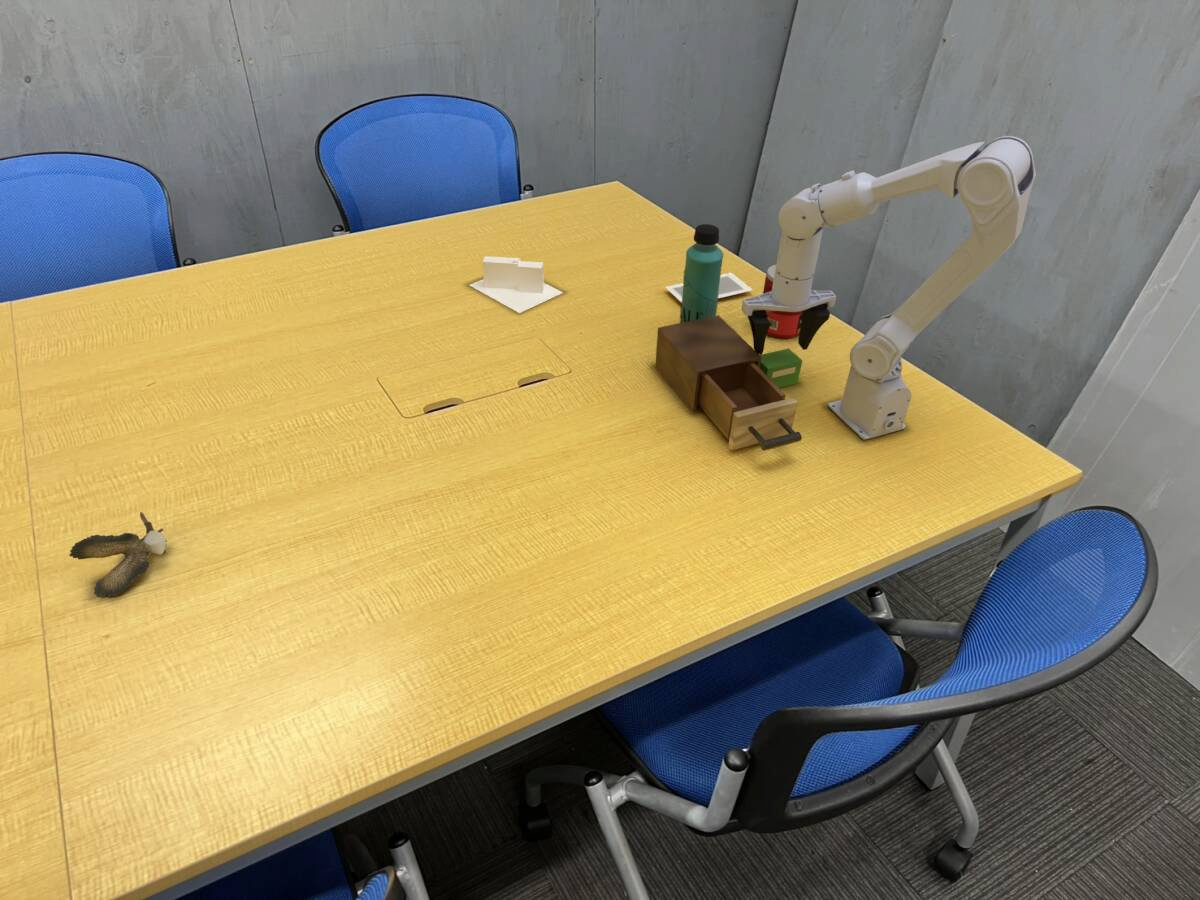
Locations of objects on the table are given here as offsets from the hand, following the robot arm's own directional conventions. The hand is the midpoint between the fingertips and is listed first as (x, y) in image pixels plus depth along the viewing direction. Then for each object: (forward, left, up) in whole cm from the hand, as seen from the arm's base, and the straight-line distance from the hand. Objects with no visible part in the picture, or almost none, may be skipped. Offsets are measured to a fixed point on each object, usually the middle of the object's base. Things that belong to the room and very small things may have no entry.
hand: (780, 348), depth 128 cm
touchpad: (+30, -4, -6) cm, 31 cm away
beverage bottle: (+18, +5, -6) cm, 20 cm away
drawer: (-10, +11, -6) cm, 16 cm away
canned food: (+14, -10, -6) cm, 18 cm away
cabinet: (+4, +11, -6) cm, 13 cm away
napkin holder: (+45, +30, -6) cm, 54 cm away
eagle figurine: (-6, +96, -6) cm, 96 cm away
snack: (0, 0, -6) cm, 6 cm away
